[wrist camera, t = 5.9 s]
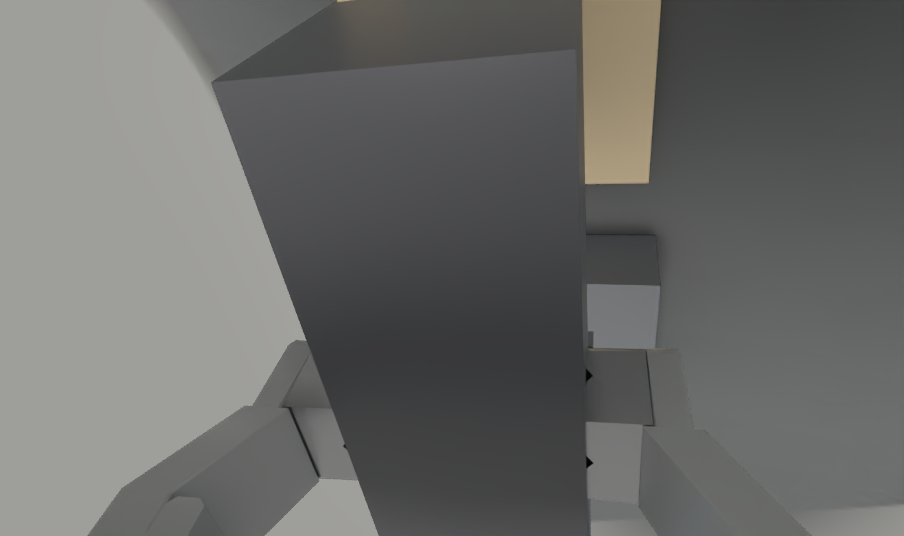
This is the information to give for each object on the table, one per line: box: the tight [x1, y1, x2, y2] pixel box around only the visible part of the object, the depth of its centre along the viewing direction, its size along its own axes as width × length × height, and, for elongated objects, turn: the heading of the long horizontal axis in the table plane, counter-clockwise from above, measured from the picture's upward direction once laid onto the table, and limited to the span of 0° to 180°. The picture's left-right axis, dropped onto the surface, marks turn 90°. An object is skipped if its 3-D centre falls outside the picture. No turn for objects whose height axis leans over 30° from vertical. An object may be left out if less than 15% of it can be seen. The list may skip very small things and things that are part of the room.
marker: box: [211, 0, 591, 536], centre depth 10 cm, size 12×4×4 cm, turn 8°
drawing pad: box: [337, 0, 661, 184], centre depth 24 cm, size 13×16×1 cm
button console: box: [586, 235, 661, 350], centre depth 31 cm, size 10×10×4 cm
